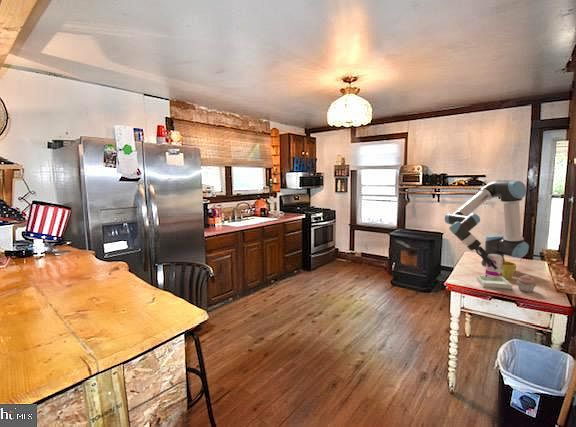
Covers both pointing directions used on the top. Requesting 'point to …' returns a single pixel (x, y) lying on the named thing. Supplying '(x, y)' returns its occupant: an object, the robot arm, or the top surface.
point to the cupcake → (526, 283)
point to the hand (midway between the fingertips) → (500, 270)
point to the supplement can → (490, 271)
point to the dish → (494, 283)
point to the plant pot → (508, 269)
